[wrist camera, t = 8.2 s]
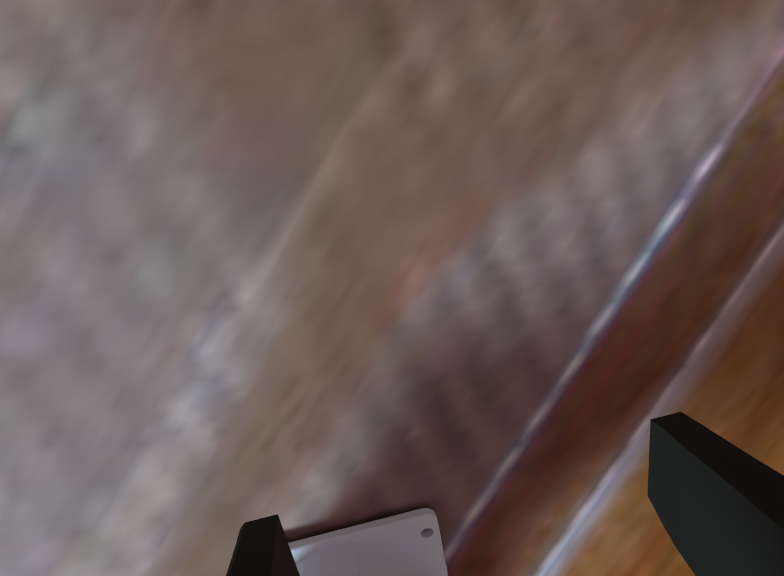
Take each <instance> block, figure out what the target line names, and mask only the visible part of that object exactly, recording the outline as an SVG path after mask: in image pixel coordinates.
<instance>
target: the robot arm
mask: <svg viewBox="0 0 784 576" xmlns="http://www.w3.org/2000/svg"><path fill="white" fill-rule="evenodd" d="M648 497H649V499H650V501H651V503H652V505H653V507H654V508H655V510H656V512H657V514H658V516H659V518H660V520H661V522H662V524H663V525H664V527H665V529H666V531H667V532H668V534H669V536H670V538H671V540H672V541H673V543H674V545H675V546H676V548H677V549H678V551H679V552H680V554H681V555H682V557H683V558H684V560H685V561H686V562H687V564H688V565H689V567H690V568H691V570H692V571H693V572H694V574H695V575H696V576H784V476H783V475H782V474H780V473H778V472H777V471H775V470H773V469H772V468H770V467H768V466H767V465H765V464H763V463H762V462H760V461H759V460H757V459H755V458H754V457H752V456H750V455H749V454H747V453H746V452H744V451H742V450H741V449H739V448H738V447H736V446H734V445H733V444H731V443H730V442H728V441H727V440H725V439H723V438H722V437H720V436H719V435H717V434H716V433H714V432H712V431H711V430H709V429H708V428H706V427H705V426H703V425H701V424H700V423H698V422H697V421H695V420H693V419H692V418H690V417H689V416H687V415H685V414H684V413H682V412H678V413H674V414H670V415H666V416H663V417H659V418H655V419H651V425H650V450H649V474H648ZM426 528H429V529H426ZM424 529H426V530H424ZM226 576H448V573H447V567H446V562H445V557H444V551H443V546H442V541H441V536H440V530H439V525H438V520H437V517H436V514H435V512H434V511H433V510H432V509H429V508H422V509H418V510H414V511H410V512H406V513H402V514H398V515H394V516H390V517H387V518H383V519H379V520H375V521H371V522H367V523H363V524H359V525H356V526H352V527H348V528H344V529H340V530H336V531H332V532H328V533H325V534H321V535H317V536H313V537H309V538H305V539H301V540H297V541H293V542H290V543H288V541H287V539H286V536H285V533H284V530H283V528H282V525H281V522H280V519H279V517H278V514H277V515H273V516H269V517H265V518H261V519H258V520H254V521H250V522H246V523H244V524H243V526H242V527H241V528H240V532H239V535H238V539H237V543H236V546H235V549H234V553H233V556H232V559H231V562H230V565H229V568H228V571H227V574H226Z"/></svg>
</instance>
